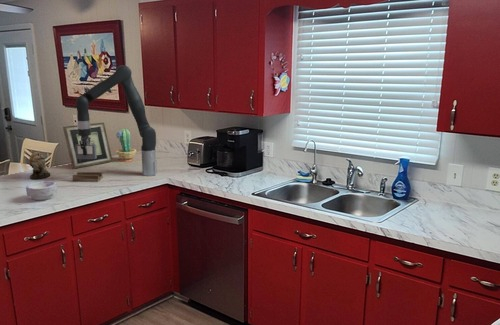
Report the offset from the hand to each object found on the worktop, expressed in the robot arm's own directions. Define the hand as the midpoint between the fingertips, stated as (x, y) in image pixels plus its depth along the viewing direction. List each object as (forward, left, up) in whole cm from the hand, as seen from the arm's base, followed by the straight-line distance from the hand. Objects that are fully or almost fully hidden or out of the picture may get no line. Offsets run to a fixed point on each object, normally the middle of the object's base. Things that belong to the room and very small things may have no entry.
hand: (86, 154), depth 265 cm
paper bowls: (+12, +39, -17) cm, 44 cm away
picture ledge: (0, 0, -17) cm, 17 cm away
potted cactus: (-11, -58, -17) cm, 62 cm away
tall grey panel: (0, 0, -3) cm, 3 cm away
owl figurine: (+34, -8, -17) cm, 39 cm away
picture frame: (+13, -44, -17) cm, 49 cm away
